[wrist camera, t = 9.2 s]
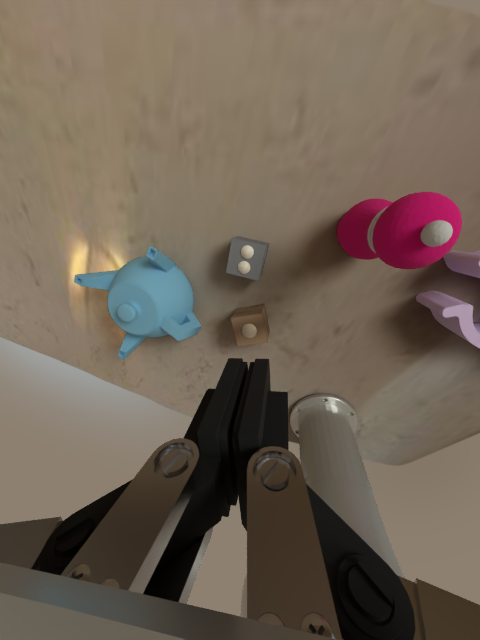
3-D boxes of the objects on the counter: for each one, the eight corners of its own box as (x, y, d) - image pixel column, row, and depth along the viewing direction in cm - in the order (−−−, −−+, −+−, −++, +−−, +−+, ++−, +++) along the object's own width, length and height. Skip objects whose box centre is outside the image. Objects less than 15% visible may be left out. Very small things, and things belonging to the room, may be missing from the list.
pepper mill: (396, 209, 33) (538, 187, 14) (373, 261, 36) (466, 298, 17) (344, 196, 33) (417, 160, 15) (325, 248, 36) (366, 271, 18)
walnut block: (269, 330, 43) (267, 343, 38) (242, 334, 44) (237, 347, 39) (264, 303, 41) (261, 313, 36) (236, 308, 42) (230, 318, 38)
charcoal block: (261, 274, 39) (258, 281, 35) (232, 267, 40) (225, 273, 35) (269, 243, 37) (267, 245, 33) (238, 236, 38) (231, 237, 33)
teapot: (143, 339, 48) (107, 369, 38) (107, 267, 44) (56, 280, 34) (212, 321, 44) (191, 349, 34) (180, 240, 40) (145, 245, 30)
